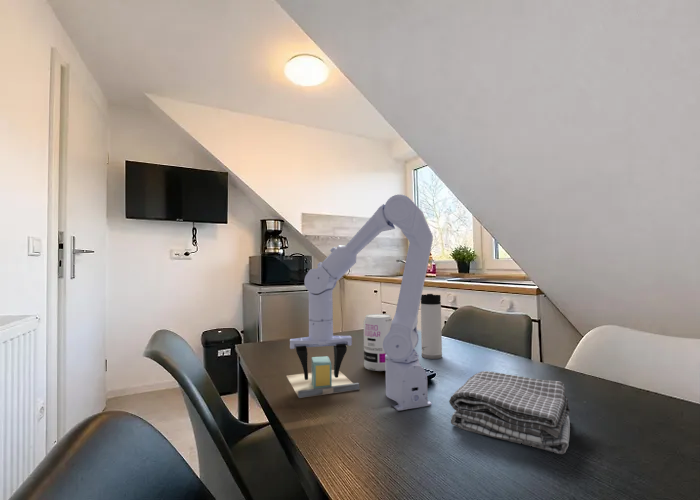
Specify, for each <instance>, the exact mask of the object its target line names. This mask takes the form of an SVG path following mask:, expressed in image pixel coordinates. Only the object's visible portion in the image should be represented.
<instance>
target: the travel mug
mask: <svg viewBox="0 0 700 500" xmlns="http://www.w3.org/2000/svg"><path fill="white" fill-rule="evenodd" d="M441 298H442V297H441V294H434V293H427V294H422V296H421V301H420V328H421V329H420V330H421V331H420V332H421V333H420V334H421V335H420V336H421V339H420V340H421V356H422V358H424V359H428V360H439V359H441V358H442V357H443V352H442V351H443V345H442V344H443V341H442V339H443V338H442V336H443V335H442V334H443V332H442V305H441V304H442V303H441Z"/></svg>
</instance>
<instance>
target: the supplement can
mask: <svg viewBox="0 0 700 500" xmlns="http://www.w3.org/2000/svg"><path fill="white" fill-rule="evenodd" d="M392 321H393V318H392V316H391V314H387V313H369V314H366V315H365V318H364V320H363V367H364V368H365V369H367V370H369V371H374V372H375V371H377V372H383V371H384V372H386V371H385V355H386V353H385V351H384V349H383V341H384V338H385V336H386V335H387V334H388V333H389V331H390V328H391V324H392Z"/></svg>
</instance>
